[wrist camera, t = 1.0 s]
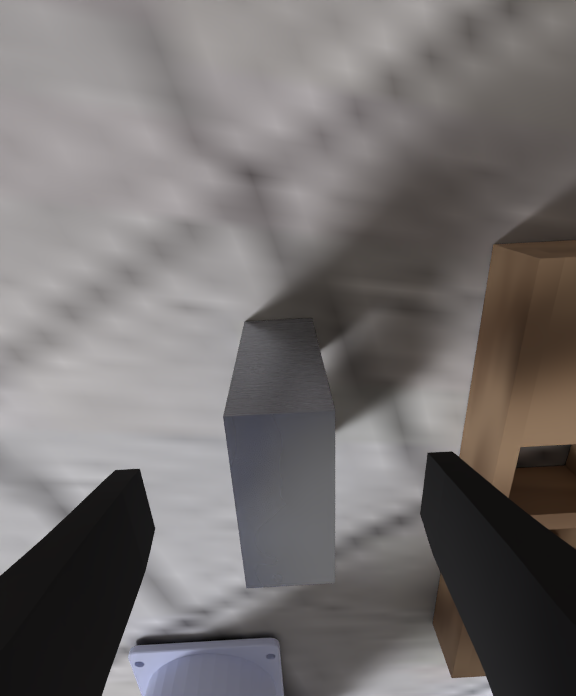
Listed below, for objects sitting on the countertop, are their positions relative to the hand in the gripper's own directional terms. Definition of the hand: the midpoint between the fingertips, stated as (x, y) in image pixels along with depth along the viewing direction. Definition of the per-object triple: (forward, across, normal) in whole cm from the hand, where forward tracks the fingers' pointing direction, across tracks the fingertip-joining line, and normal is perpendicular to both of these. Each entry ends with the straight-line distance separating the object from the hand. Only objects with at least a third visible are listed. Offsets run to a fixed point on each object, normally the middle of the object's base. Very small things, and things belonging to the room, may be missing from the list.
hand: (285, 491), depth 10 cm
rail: (+6, -10, +5) cm, 13 cm away
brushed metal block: (+6, 0, 0) cm, 6 cm away
